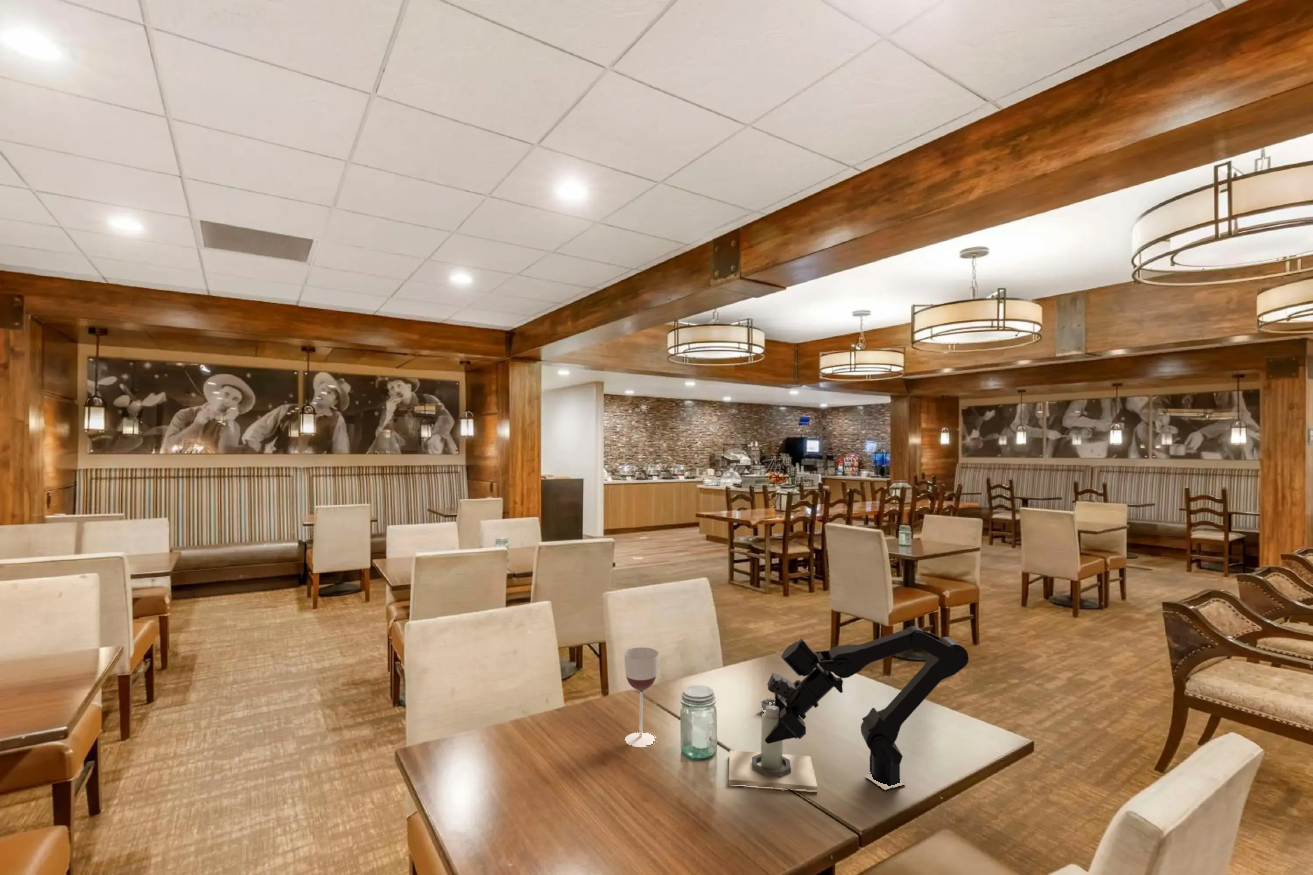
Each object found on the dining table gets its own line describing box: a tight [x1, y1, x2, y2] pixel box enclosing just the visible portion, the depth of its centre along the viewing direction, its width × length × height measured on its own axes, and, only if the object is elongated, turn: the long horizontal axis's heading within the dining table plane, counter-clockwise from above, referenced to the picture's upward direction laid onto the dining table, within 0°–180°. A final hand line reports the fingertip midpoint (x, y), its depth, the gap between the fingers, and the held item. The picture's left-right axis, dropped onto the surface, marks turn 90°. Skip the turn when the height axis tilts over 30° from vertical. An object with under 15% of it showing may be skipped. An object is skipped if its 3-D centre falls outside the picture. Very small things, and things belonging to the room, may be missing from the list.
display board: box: [728, 750, 818, 791], centre depth 144 cm, size 20×14×3 cm
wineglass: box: [624, 646, 659, 748], centre depth 162 cm, size 9×10×23 cm
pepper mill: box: [760, 706, 783, 770], centre depth 145 cm, size 5×5×14 cm
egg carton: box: [759, 697, 775, 710], centre depth 178 cm, size 11×8×4 cm
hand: (765, 732), depth 145 cm, fingers open, 9 cm apart
